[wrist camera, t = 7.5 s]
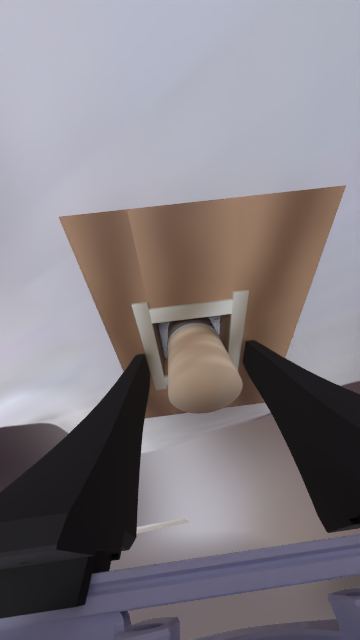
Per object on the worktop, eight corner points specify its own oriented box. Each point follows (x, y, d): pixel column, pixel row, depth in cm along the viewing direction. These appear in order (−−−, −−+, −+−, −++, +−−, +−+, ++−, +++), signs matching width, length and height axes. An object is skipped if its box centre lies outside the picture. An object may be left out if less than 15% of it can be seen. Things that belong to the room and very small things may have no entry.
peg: (214, 308, 12) (251, 361, 7) (210, 346, 14) (236, 410, 9) (165, 311, 12) (164, 368, 6) (168, 349, 14) (169, 416, 8)
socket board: (310, 196, 9) (350, 183, 7) (259, 385, 17) (270, 403, 15) (81, 222, 8) (55, 216, 7) (145, 400, 17) (143, 420, 15)
